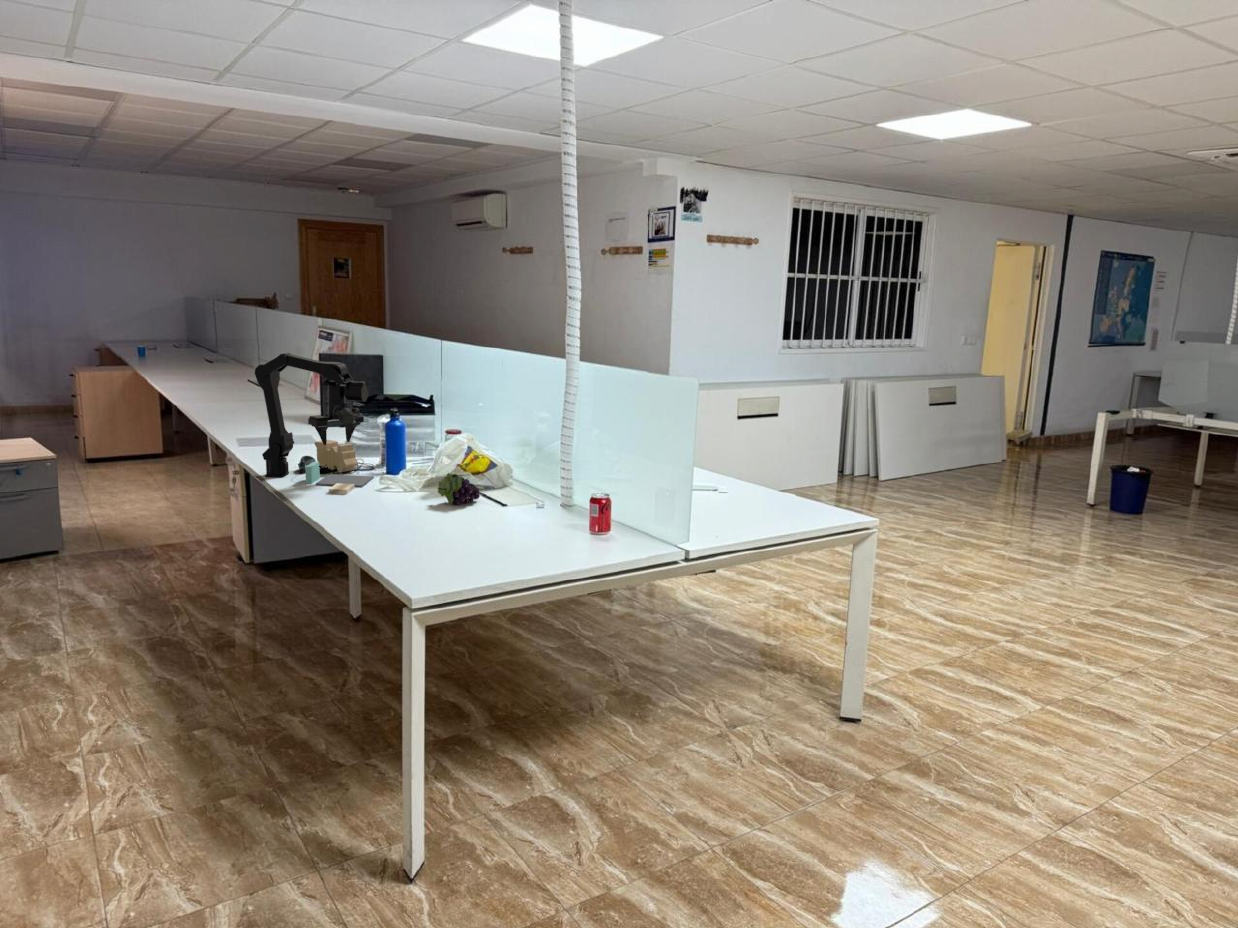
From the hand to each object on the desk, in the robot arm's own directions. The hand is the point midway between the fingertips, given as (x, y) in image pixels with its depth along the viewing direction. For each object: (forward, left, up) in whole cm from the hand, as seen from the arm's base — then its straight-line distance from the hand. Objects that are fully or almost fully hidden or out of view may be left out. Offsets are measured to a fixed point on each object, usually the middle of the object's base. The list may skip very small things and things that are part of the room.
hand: (336, 443), depth 304 cm
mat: (+4, -3, -13) cm, 14 cm away
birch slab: (+7, -16, -13) cm, 22 cm away
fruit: (+48, -25, -13) cm, 55 cm away
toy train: (-5, +15, -13) cm, 21 cm away
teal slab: (-7, -4, -13) cm, 15 cm away
